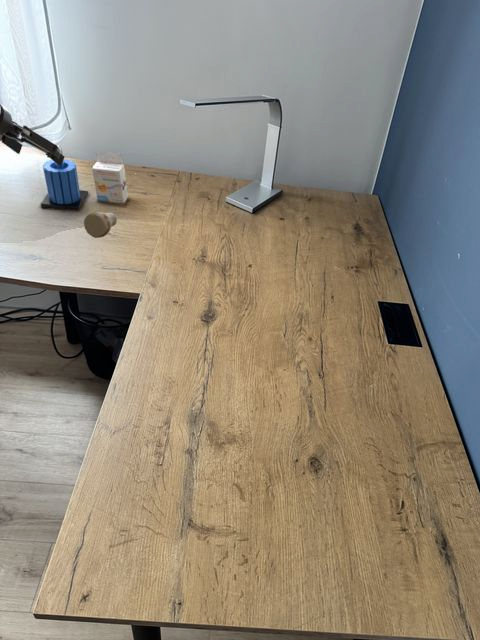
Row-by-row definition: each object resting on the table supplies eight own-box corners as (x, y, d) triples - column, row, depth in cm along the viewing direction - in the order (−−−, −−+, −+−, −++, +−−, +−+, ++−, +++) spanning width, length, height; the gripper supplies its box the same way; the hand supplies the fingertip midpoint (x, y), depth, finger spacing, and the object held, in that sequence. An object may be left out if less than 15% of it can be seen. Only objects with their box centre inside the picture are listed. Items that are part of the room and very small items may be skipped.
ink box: (97, 203, 157) (89, 157, 146) (102, 196, 160) (94, 150, 150) (124, 206, 157) (117, 161, 146) (129, 198, 160) (122, 153, 150)
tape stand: (41, 208, 151) (30, 150, 139) (53, 191, 159) (42, 136, 147) (78, 212, 152) (70, 155, 140) (88, 195, 160) (81, 140, 148)
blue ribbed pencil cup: (45, 202, 151) (38, 170, 144) (54, 189, 157) (48, 157, 150) (75, 205, 151) (70, 173, 145) (83, 192, 158) (79, 160, 151)
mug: (125, 224, 149) (118, 207, 139) (106, 250, 146) (98, 234, 137) (103, 212, 149) (95, 194, 140) (84, 238, 147) (75, 221, 137)
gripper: (-62, 116, 121) (-2, 156, 141) (27, 141, 116) (75, 179, 137) (-51, 87, 121) (7, 131, 142) (38, 110, 117) (84, 153, 137)
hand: (40, 155), depth 140 cm, fingers open, 13 cm apart
